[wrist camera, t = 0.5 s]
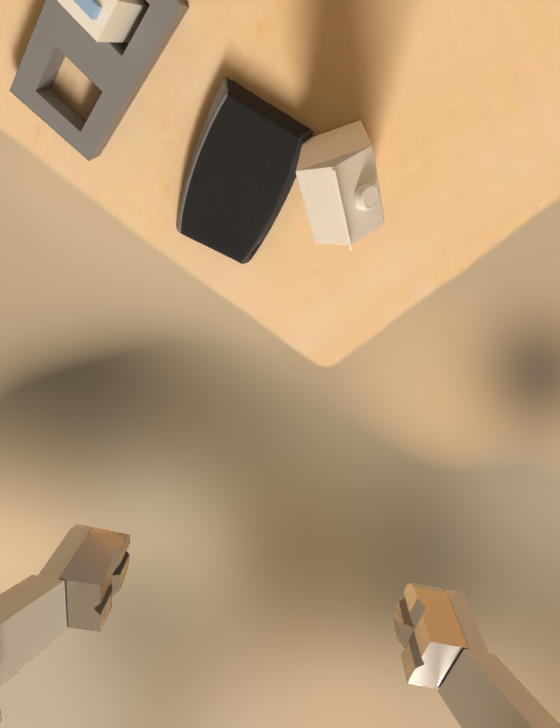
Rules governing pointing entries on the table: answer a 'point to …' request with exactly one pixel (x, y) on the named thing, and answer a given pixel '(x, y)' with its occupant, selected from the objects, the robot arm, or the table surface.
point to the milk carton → (340, 185)
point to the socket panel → (91, 70)
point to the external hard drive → (239, 172)
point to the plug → (107, 17)
